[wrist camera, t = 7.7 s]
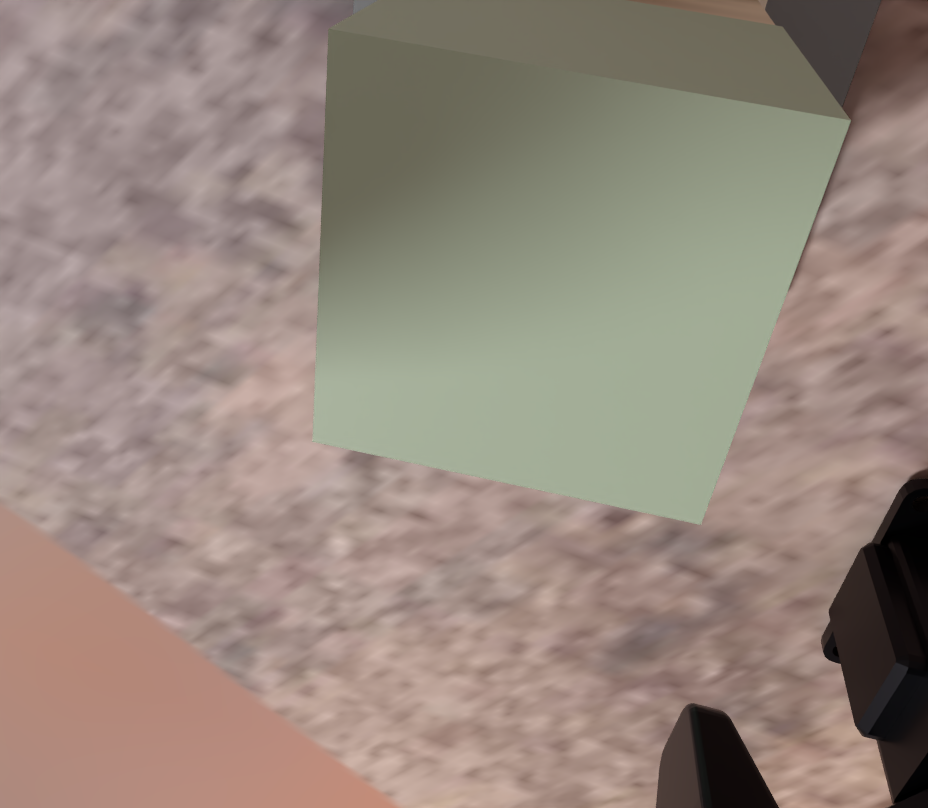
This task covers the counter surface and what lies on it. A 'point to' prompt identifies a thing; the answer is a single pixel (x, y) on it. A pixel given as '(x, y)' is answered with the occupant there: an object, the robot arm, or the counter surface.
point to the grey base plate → (815, 34)
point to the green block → (560, 238)
